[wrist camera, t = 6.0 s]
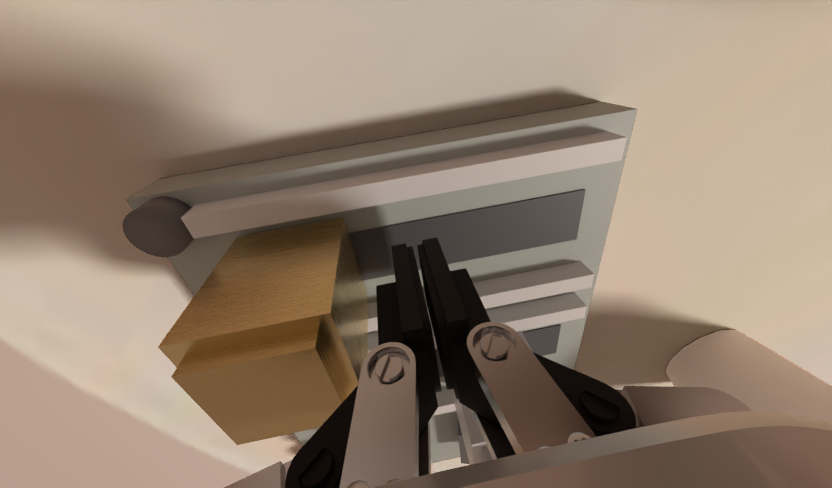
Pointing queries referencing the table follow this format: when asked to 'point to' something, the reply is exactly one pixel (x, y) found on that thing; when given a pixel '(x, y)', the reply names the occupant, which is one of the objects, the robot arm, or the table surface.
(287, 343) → the slider brass
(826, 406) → the foam cup
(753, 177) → the table surface
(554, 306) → the panel
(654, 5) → the table surface
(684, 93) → the table surface
